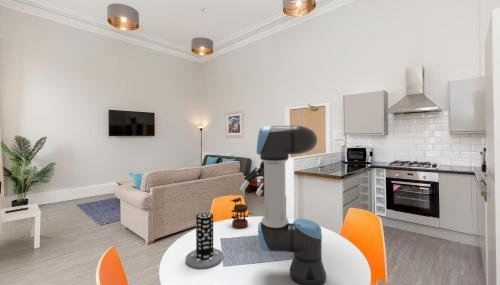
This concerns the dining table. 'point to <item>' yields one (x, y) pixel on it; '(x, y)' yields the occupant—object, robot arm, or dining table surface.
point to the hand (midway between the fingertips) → (249, 192)
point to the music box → (240, 209)
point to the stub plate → (204, 264)
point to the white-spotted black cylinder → (204, 236)
